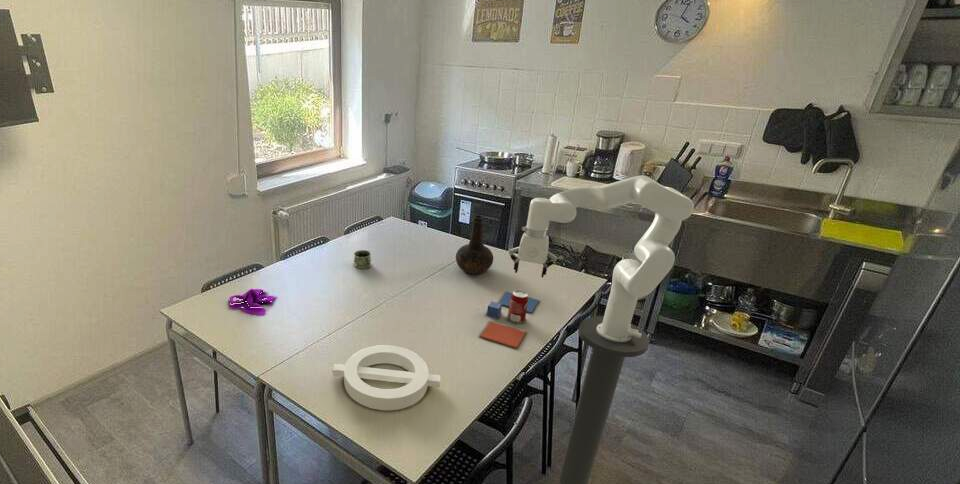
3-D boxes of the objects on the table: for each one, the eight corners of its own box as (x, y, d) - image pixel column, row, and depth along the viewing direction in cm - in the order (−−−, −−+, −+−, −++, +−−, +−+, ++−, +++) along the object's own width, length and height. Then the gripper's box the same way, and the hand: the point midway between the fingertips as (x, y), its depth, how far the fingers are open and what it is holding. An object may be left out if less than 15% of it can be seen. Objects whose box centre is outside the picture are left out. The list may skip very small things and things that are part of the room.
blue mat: (538, 301, 213) (538, 300, 212) (531, 313, 204) (531, 312, 203) (506, 292, 219) (506, 291, 219) (498, 304, 210) (498, 303, 210)
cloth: (220, 302, 212) (218, 290, 209) (254, 287, 224) (253, 275, 222) (252, 320, 199) (250, 307, 196) (287, 303, 211) (286, 290, 208)
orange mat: (525, 333, 190) (525, 331, 190) (516, 348, 181) (516, 347, 181) (490, 322, 197) (490, 321, 197) (480, 337, 188) (480, 335, 188)
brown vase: (491, 264, 246) (498, 211, 234) (491, 280, 230) (499, 224, 218) (455, 260, 250) (460, 208, 237) (453, 276, 234) (458, 221, 222)
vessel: (376, 266, 243) (377, 255, 241) (363, 271, 238) (363, 259, 236) (361, 258, 252) (361, 247, 249) (348, 263, 247) (348, 251, 244)
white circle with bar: (328, 374, 168) (328, 363, 166) (392, 347, 182) (392, 336, 180) (377, 423, 147) (377, 411, 145) (445, 387, 162) (446, 376, 160)
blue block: (500, 313, 204) (502, 304, 202) (497, 318, 200) (498, 308, 198) (490, 310, 206) (491, 301, 204) (486, 315, 202) (487, 305, 200)
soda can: (520, 325, 195) (524, 299, 190) (504, 319, 199) (508, 294, 194) (527, 319, 200) (532, 293, 194) (512, 313, 204) (516, 287, 198)
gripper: (510, 231, 179) (504, 273, 186) (561, 239, 172) (552, 282, 180) (513, 225, 185) (507, 265, 192) (562, 232, 179) (554, 273, 186)
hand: (529, 273), depth 186 cm, fingers open, 9 cm apart
